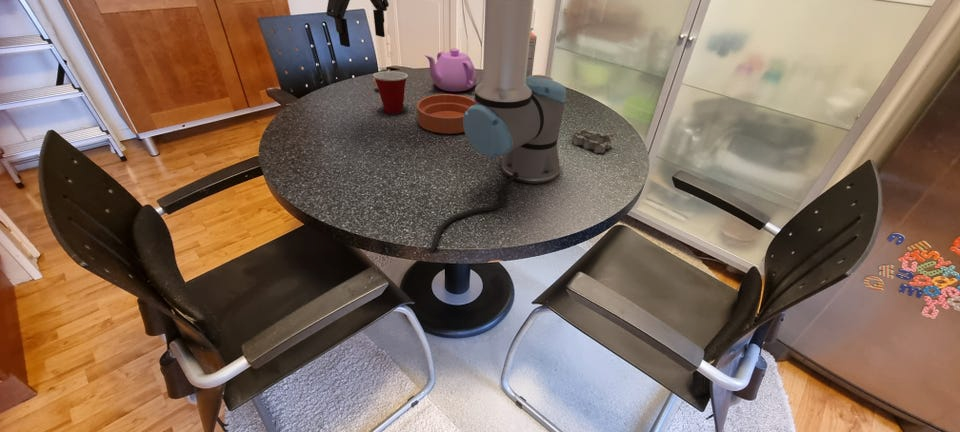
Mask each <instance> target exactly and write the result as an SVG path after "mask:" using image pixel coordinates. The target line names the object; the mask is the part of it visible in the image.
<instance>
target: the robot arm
mask: <svg viewBox="0 0 960 432" xmlns="http://www.w3.org/2000/svg"><path fill="white" fill-rule="evenodd" d="M350 1H351V0H327V5H326V6H327V7H326V12H325V13H326V16H327V17H330V18H333V19H334V23H335V24H334V25H335V30H336V32H337V33H338V36H339V37H338V38H339V45H340V46H343V47H346V48H350V47H351V42H350V41H351V40H350V36H349V35H350V34H349V29H348V22H347V18H344V17H345V15H346V12H347V9H348V6H349V4H350ZM369 1H370V3H371V4H372V5H373V7H374V9H373V10H372V11H373V12H372V13H373V23H374V32H375V36H377V37H381V38H385V37H386V34H385V12H386V11H387V10H388V8H389V4H390V3H389V1H388V0H369ZM484 1H485V2H484V27H483V31H484V33H483V61H482V62H483V63H482V65H483V66H482V81H481V82H480V83H478V85H476V86H475V88H474V101H475V105H473V106H470V107H469V109H468V110H467V111H466V112H465V114H464V117H463V127H464V132H463V133H464V134H465V136H466V139H467V141H468V142H469V143H470V145H471V147H472V148H473V149H474V150H475V151H476V152H478V153H479V154H480V155H482V156H483V157H487V158H489V159H490V158H492V159H494V158H495V159H496V158H499V157H501V156H502V157H501V161H500V169H501V171H502V173H503V174H504V175H505V176H506V177H508V179H507V180H506V181H505V182H504V183H503V185H502V186H501V188H500V191H499V197H500V198H499V201H498V203H496V204H494V205H491V206H484V207H477V208H472V209H468V210H466V211H463V212H460V213H457V214H454V215H452V216H450V217H449V218H447V219H445V220H444V221H443V222H442V223H440V224H439V226H438V227H437V229H436V231H435V233H434V236H433V240H432V242H431V246H430V249H429V254H430V255H433V254H435V252H436V248H437V246H438V243H439V239H440V236H441V234H442V232H443V230H444V229H445V228H446V227H447V226H448V225H449V224H450V223H452V222H454V221H456V220H458V219H461V218H465V217H467V216H470V215H474V214H478V213H486V212H491V211H495V210H497V209H500V208H501V207H502V206H503V205H504V203H505V200H506V198H505V191H506V189H507V188H508V186H509V185H510V184H511V183H513V181H517V182H520V183H524V184H530V185H540V184H541V185H542V184H546V183H549V182H551V181H553V180H555V179H556V178H557V177H558V175H559V172H560V159H559V152H558V147H557V145H558V140H559V136H560V130H561V125H562V120H563V114H564V110H565V105H566V103H567V102H566V97H567V89H566V87H565V86H564V85H563V84H562V83H560V82H558V81H555V80H553V81H552V80H549V79H544V78H539V77H526V71H527V62H528V52H529V42H530V32H532V21H533V11H534V3H535V0H484Z"/></svg>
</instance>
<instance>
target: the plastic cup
mask: <svg viewBox="0 0 960 432" xmlns="http://www.w3.org/2000/svg"><path fill="white" fill-rule="evenodd" d="M408 76H409V75H408V74H407V73H405V72H402V71H391V70H390V71H387V70H386V71H378V72H375V73H373V75H372V78H373V79H374V78H375V81H376V83H377V86H378V89H379V90H378V89H377V90H378V93H379V96H380V100H381V102H382V105H383V109H384V111H385V113H387V114H390V115H396V114H400V113H402V112H403V109H404V100H405V89H406V82H407V79H408Z"/></svg>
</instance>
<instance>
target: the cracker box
mask: <svg viewBox="0 0 960 432" xmlns="http://www.w3.org/2000/svg"><path fill="white" fill-rule="evenodd" d="M537 38H538V37H537V36H536V34H535V33H533V32H532V31H531V32H530V42H529V52H528V62H527V71H526V77H529V76H532V75H533V70H534V62H535V55H536V47H537V46H536V45H537Z"/></svg>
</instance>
